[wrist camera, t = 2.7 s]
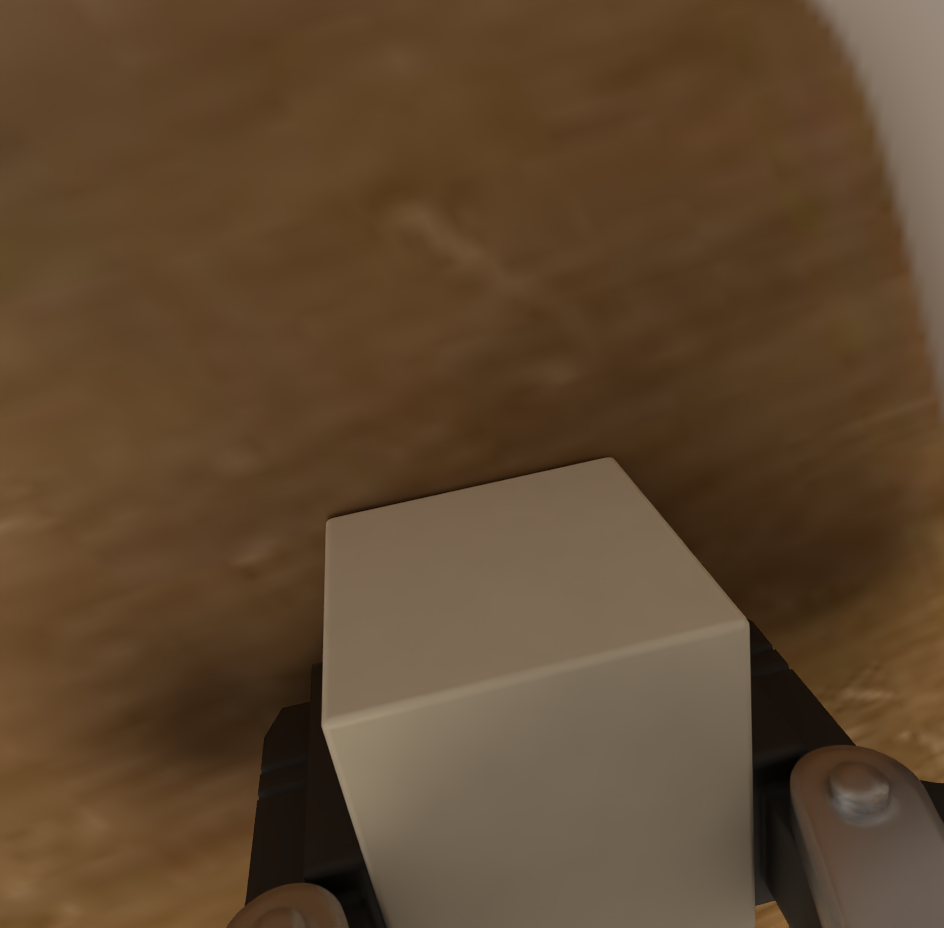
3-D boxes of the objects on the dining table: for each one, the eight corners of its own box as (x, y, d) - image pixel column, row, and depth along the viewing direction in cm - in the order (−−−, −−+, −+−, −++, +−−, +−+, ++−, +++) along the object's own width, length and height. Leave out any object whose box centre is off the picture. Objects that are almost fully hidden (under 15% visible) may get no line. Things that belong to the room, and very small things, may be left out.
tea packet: (323, 516, 10) (319, 724, 7) (612, 453, 11) (754, 621, 7) (411, 832, 13) (441, 1108, 9) (644, 773, 13) (760, 1017, 10)
